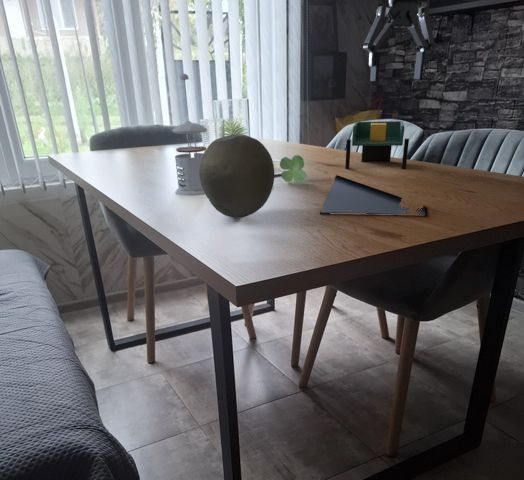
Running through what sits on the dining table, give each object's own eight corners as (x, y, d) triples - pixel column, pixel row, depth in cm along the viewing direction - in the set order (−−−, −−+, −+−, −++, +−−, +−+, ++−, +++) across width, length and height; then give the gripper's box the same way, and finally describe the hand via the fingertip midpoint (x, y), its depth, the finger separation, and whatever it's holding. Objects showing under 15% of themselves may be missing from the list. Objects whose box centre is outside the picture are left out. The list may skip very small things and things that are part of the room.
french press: (173, 196, 114) (159, 74, 102) (176, 186, 124) (163, 74, 112) (215, 193, 115) (206, 72, 102) (214, 184, 125) (206, 73, 112)
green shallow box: (355, 136, 145) (356, 119, 143) (399, 136, 142) (401, 118, 140) (352, 145, 126) (353, 126, 124) (402, 145, 124) (404, 125, 122)
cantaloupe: (198, 213, 99) (191, 133, 91) (265, 207, 102) (263, 129, 94) (209, 231, 87) (201, 141, 79) (284, 224, 90) (283, 136, 82)
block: (370, 139, 133) (371, 123, 131) (385, 139, 132) (386, 122, 130) (369, 140, 129) (370, 124, 127) (385, 140, 129) (386, 124, 127)
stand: (348, 167, 141) (349, 133, 137) (403, 167, 138) (406, 133, 134) (344, 175, 130) (346, 139, 125) (404, 176, 127) (409, 139, 122)
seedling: (294, 198, 130) (294, 189, 124) (273, 177, 131) (272, 168, 124) (313, 178, 130) (314, 169, 123) (292, 158, 130) (292, 148, 124)
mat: (336, 176, 129) (336, 175, 129) (414, 177, 125) (414, 175, 125) (319, 214, 95) (319, 212, 95) (425, 216, 91) (425, 214, 91)
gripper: (438, -14, 127) (427, 78, 138) (353, -16, 121) (348, 81, 131) (457, -19, 121) (443, 78, 131) (368, -21, 114) (361, 81, 125)
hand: (396, 80), depth 131 cm, fingers open, 13 cm apart
